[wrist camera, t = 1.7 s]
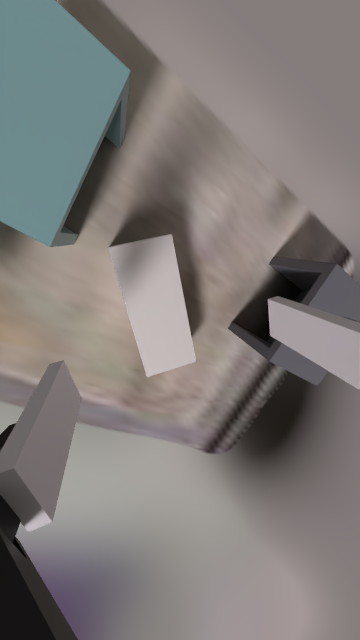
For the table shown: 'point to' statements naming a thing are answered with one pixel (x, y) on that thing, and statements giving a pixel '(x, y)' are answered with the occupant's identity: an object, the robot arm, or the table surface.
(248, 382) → the table surface
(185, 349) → the slat
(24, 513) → the robot arm
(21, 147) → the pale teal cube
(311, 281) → the charcoal cap
